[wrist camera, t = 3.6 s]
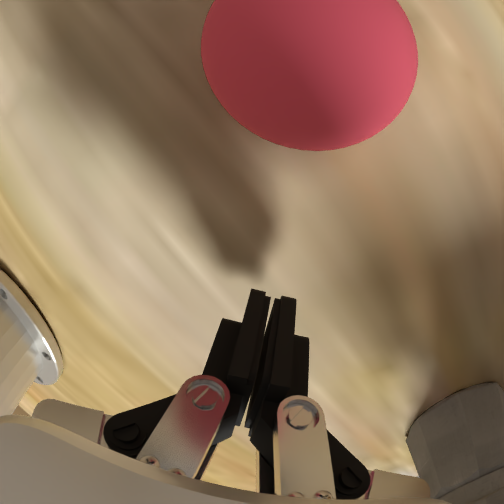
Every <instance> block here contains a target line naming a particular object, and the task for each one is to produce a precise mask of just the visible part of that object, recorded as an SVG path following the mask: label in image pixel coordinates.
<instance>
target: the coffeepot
mask: <svg viewBox="0 0 504 504" xmlns="http://www.w3.org/2000/svg"><path fill="white" fill-rule="evenodd" d="M406 443H407V445H408V448H409V451H410V453H411V456H412V458H413V461H414V464H415V466H416V469H417V472H418V474H419V477H420V478H421V479H424V480H425V481H426V482H427V483H428V485H429V487H430V498H434V499H439V500H443V501H446V502H449V503H451V504H504V391H503V389H502V388H501V386H499V385H498V384H497V382H496V383H483V384H478V385H474V386H471V387H468V388H466V389H464V390H461V391H459V392H457V393H455V394H453V395H451V396H449V397H447V398H445V399H443V400H442V401H440V402H438V403H437V404H435V405H434V406H432V407H431V408H429V409H428V410H427V411H426V412H424V413H423V414H422V415H421V416H420V417H419V418H418V419H417V420H416V421H415V422H414V423H413V425H412V426H411V428H410V431H409V435H408V437H407V439H406Z"/></svg>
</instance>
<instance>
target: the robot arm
mask: <svg viewBox="0 0 504 504" xmlns="http://www.w3.org/2000/svg"><path fill="white" fill-rule="evenodd" d="M265 294H266V292H264V291H259V290H255V289H251V292H250V296H249V299H248V303H247V307H246V310H245V314H244V318H243V321H242V323H240V322H236V321H232V320H228V319H224V318H223V319H222V321H221V323H220V326H219V329H218V331H217V334H216V337H215V340H214V343H213V346H212V348H211V351H210V354H209V357H208V360H207V362H206V365H205V368H204V371H203V374H202V375H197V376H193V377H191V378H189V379H188V380H186V381H185V383H184V384H183V385H182V386H181V388H180V390H179V391H178V393H177V394H175V395H173V396H170V397H167V398H164V399H161V400H159V401H156V402H153V403H150V404H147V405H144V406H141V407H138V408H135V409H132V410H128V411H125V412H122V413H119V414H116V415H114V416H112V415H107V414H104V412H103V411H99V410H94V409H90V408H85V407H81V406H77V405H73V404H69V403H66V402H62V401H58V400H55V399H46V400H42V401H41V402H40V403H38V404H37V406H36V407H35V409H34V412H33V415H32V417H29V416H23V415H12V413H13V412H14V410H15V408H16V407H17V405H18V404H19V402H20V401H21V399H22V398H23V396H24V395H25V393H26V392H27V390H28V389H29V388H30V386H31V385H32V383H33V382H36V383H39V384H43V385H52V384H54V383H55V382H57V380H58V379H59V377H60V376H61V374H62V372H63V359H62V356H61V353H60V350H59V347H58V345H57V343H56V341H55V339H54V336H53V335H52V333H51V331H50V330H49V328H48V326H47V324H46V323H45V321H44V320H43V318H42V317H41V315H40V314H39V312H38V311H37V309H36V308H35V307H34V305H33V304H32V303H31V302H30V300H29V299H28V298H27V296H26V295H25V294H24V293H23V292H22V290H21V289H20V288H19V287H18V286H17V285H16V283H15V282H14V281H13V280H12V279H11V278H10V277H9V276H8V275H7V274H6V273H4V272H3V271H2V270H1V269H0V504H451V503H449V502H446V501H443V500H439V499H434V498H430V487H429V485H428V483H427V482H426V481H425V480H424V479H421V478H418V477H412V476H407V475H401V474H396V473H391V472H386V471H381V470H377V469H375V470H373V471H371V470H367V469H366V467H365V466H364V465H363V464H362V463H361V462H360V461H359V460H358V459H357V458H355V457H354V456H353V455H352V454H351V453H350V452H349V451H348V450H347V449H346V448H345V447H344V446H343V445H342V444H341V443H340V442H339V441H338V440H337V439H336V438H335V437H334V436H333V435H332V434H331V433H330V432H329V431H328V430H327V429H326V423H325V417H324V413H323V410H322V408H321V407H320V405H319V404H318V403H317V402H315V401H314V400H313V399H311V398H309V397H308V372H309V338H308V337H303V336H298V335H294V331H295V316H296V299H294V298H290V297H285V296H281V299H276V298H275V300H274V304H273V307H272V310H271V314H270V317H269V321H268V324H267V328H266V331H265V327H266V321H267V316H268V310H269V304H270V299H271V297H268V296H265ZM264 332H265V334H264ZM250 395H251V397H250ZM249 398H250V402H249V407H248V411H247V416H246V421H245V427H246V428H250V430H249V435H248V436H250V437H251V438H250V441H251V443H252V444H253V445H254V446H255V447H256V449H257V450H256V492H252V491H246V490H241V489H236V488H231V487H226V486H221V485H217V484H213V483H209V482H205V481H201V480H202V478H203V476H204V474H205V472H206V470H207V468H208V465H209V463H210V461H211V459H212V457H213V455H214V453H215V451H216V449H217V446H218V444H219V442H221V441H223V440H225V439H227V438H229V437H231V436H232V433H233V430H234V426H235V425H237V426H240V424H241V421H242V418H243V415H244V412H245V410H246V407H247V404H248V401H249Z"/></svg>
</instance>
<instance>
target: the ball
mask: <svg viewBox="0 0 504 504" xmlns="http://www.w3.org/2000/svg"><path fill="white" fill-rule="evenodd" d="M201 57H202V63H203V68H204V71H205V75H206V78H207V80H208V83H209V85H210V87H211V89H212V91H213V93H214V94H215V96H216V97H217V99H218V100H219V102H220V103H221V105H222V106H223V107H224V108H225V110H226V111H227V112H228V113H229V114H230V115H231V116H232V117H233V118H234V119H235V120H236V121H237V122H238V123H240V124H241V125H242V126H244V127H245V128H246V129H248V130H249V131H251V132H252V133H254V134H256V135H258V136H260V137H261V138H263V139H266V140H268V141H270V142H273V143H275V144H278V145H282V146H285V147H289V148H294V149H300V150H311V151H323V150H334V149H339V148H344V147H348V146H351V145H354V144H357V143H360V142H362V141H364V140H366V139H368V138H370V137H372V136H374V135H375V134H377V133H378V132H380V131H381V130H383V129H384V128H385V127H386V126H388V125H389V124H390V123H391V122H392V121H393V120H394V119H395V118H396V117H397V115H398V114H399V113H400V112H401V110H402V109H403V107H404V106H405V104H406V103H407V101H408V98H409V96H410V94H411V92H412V89H413V87H414V83H415V79H416V76H417V67H418V51H417V45H416V39H415V36H414V33H413V30H412V27H411V24H410V22H409V20H408V18H407V16H406V14H405V12H404V11H403V9H402V7H401V6H400V4H399V3H398V2H397V0H215V1H214V2H213V4H212V6H211V8H210V10H209V12H208V14H207V17H206V20H205V23H204V27H203V31H202V39H201Z"/></svg>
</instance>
